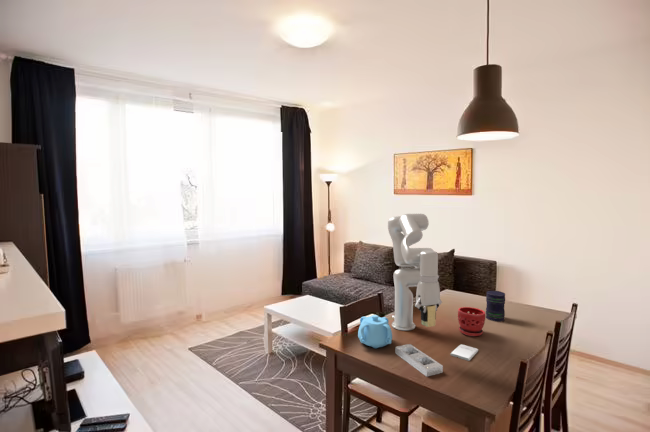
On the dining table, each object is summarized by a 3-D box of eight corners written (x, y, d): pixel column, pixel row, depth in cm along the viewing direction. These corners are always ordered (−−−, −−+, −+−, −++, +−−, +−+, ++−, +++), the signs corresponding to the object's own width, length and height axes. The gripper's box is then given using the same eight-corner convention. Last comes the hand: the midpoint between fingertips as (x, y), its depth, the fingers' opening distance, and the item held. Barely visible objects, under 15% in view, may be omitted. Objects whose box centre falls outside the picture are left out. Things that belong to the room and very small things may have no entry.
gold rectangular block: (421, 324, 159) (421, 304, 158) (428, 322, 160) (429, 302, 160) (427, 327, 155) (427, 306, 154) (435, 325, 156) (435, 305, 156)
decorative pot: (355, 349, 167) (356, 320, 166) (359, 335, 183) (359, 309, 182) (391, 352, 164) (391, 323, 163) (392, 337, 179) (392, 311, 178)
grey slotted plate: (395, 353, 162) (395, 346, 162) (409, 350, 165) (410, 343, 165) (426, 376, 142) (426, 369, 142) (442, 372, 145) (442, 365, 145)
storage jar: (507, 321, 200) (508, 295, 199) (490, 321, 200) (491, 295, 199) (499, 315, 210) (500, 290, 209) (482, 315, 210) (483, 290, 209)
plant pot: (487, 339, 177) (488, 315, 176) (459, 336, 180) (460, 313, 179) (481, 328, 190) (482, 306, 189) (455, 327, 193) (456, 305, 192)
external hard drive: (450, 356, 160) (460, 346, 170) (469, 362, 155) (478, 352, 164) (450, 353, 160) (460, 343, 170) (469, 358, 155) (478, 348, 164)
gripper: (437, 275, 163) (437, 314, 164) (407, 279, 156) (407, 320, 157) (449, 278, 156) (449, 319, 157) (418, 282, 149) (418, 325, 150)
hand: (428, 319), depth 157 cm, fingers closed on gold rectangular block, 4 cm apart
